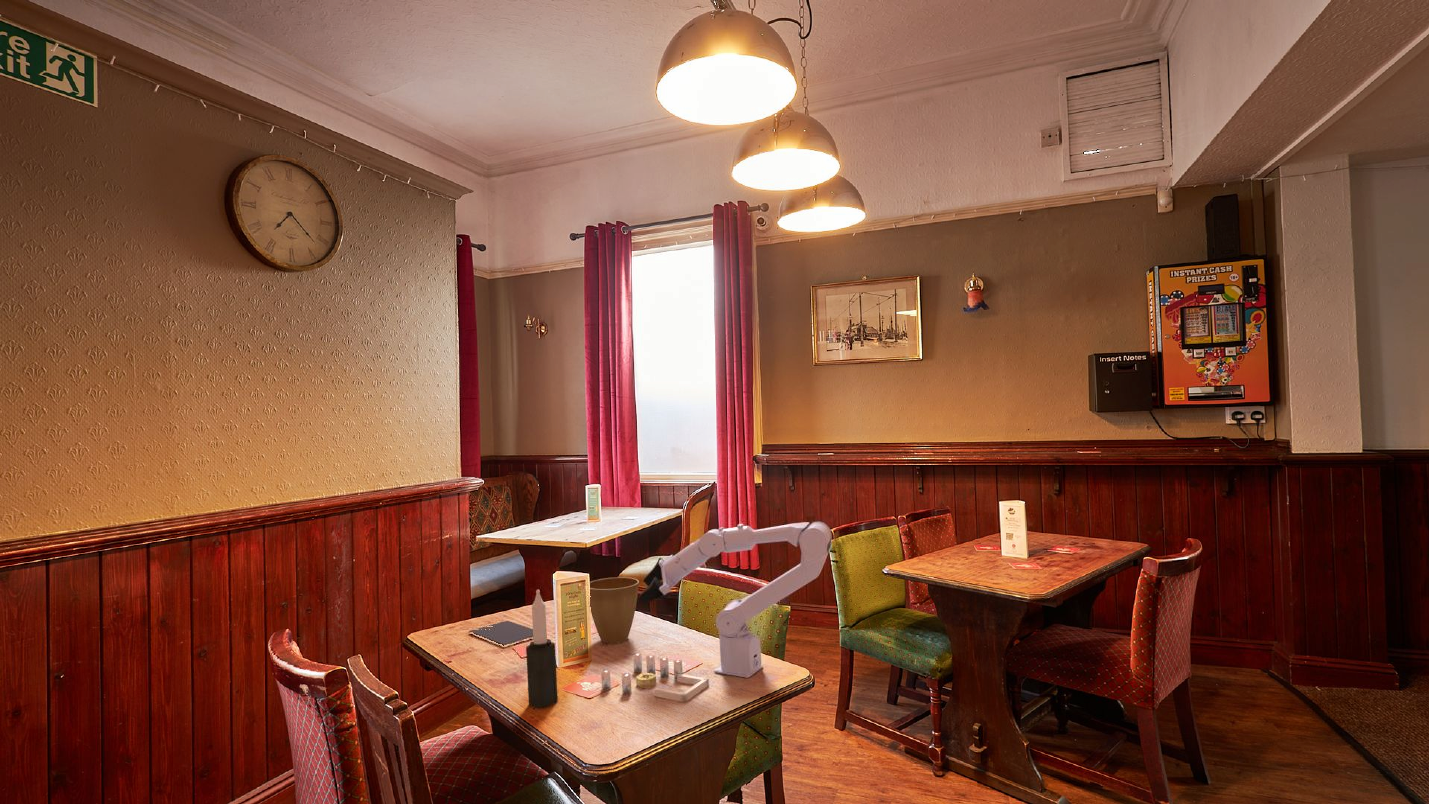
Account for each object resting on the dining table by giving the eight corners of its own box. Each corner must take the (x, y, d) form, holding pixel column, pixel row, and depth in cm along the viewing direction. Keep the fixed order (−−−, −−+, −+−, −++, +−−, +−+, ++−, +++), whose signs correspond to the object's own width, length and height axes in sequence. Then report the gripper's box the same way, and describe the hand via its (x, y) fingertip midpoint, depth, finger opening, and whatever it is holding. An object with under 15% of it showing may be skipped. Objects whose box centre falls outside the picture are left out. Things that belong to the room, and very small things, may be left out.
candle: (543, 709, 150) (537, 593, 151) (526, 705, 153) (521, 591, 153) (560, 700, 154) (554, 588, 155) (543, 696, 157) (538, 586, 158)
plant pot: (638, 647, 188) (635, 588, 188) (583, 649, 188) (580, 590, 188) (644, 630, 203) (641, 575, 203) (593, 632, 203) (591, 577, 203)
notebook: (469, 636, 208) (504, 650, 193) (468, 630, 208) (503, 644, 193) (507, 625, 217) (544, 637, 202) (507, 620, 217) (543, 632, 202)
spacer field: (684, 677, 164) (683, 660, 164) (649, 699, 152) (648, 681, 152) (637, 668, 171) (636, 652, 172) (600, 689, 159) (599, 672, 160)
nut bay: (708, 685, 158) (708, 678, 158) (684, 702, 150) (684, 695, 150) (679, 680, 163) (679, 673, 163) (654, 696, 154) (654, 689, 154)
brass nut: (659, 682, 162) (658, 673, 162) (647, 689, 158) (647, 680, 158) (645, 680, 164) (645, 671, 164) (633, 687, 160) (633, 678, 160)
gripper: (677, 536, 177) (637, 565, 180) (671, 566, 164) (628, 596, 167) (694, 556, 179) (655, 584, 182) (690, 587, 165) (647, 616, 168)
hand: (643, 591), depth 174 cm, fingers open, 7 cm apart
